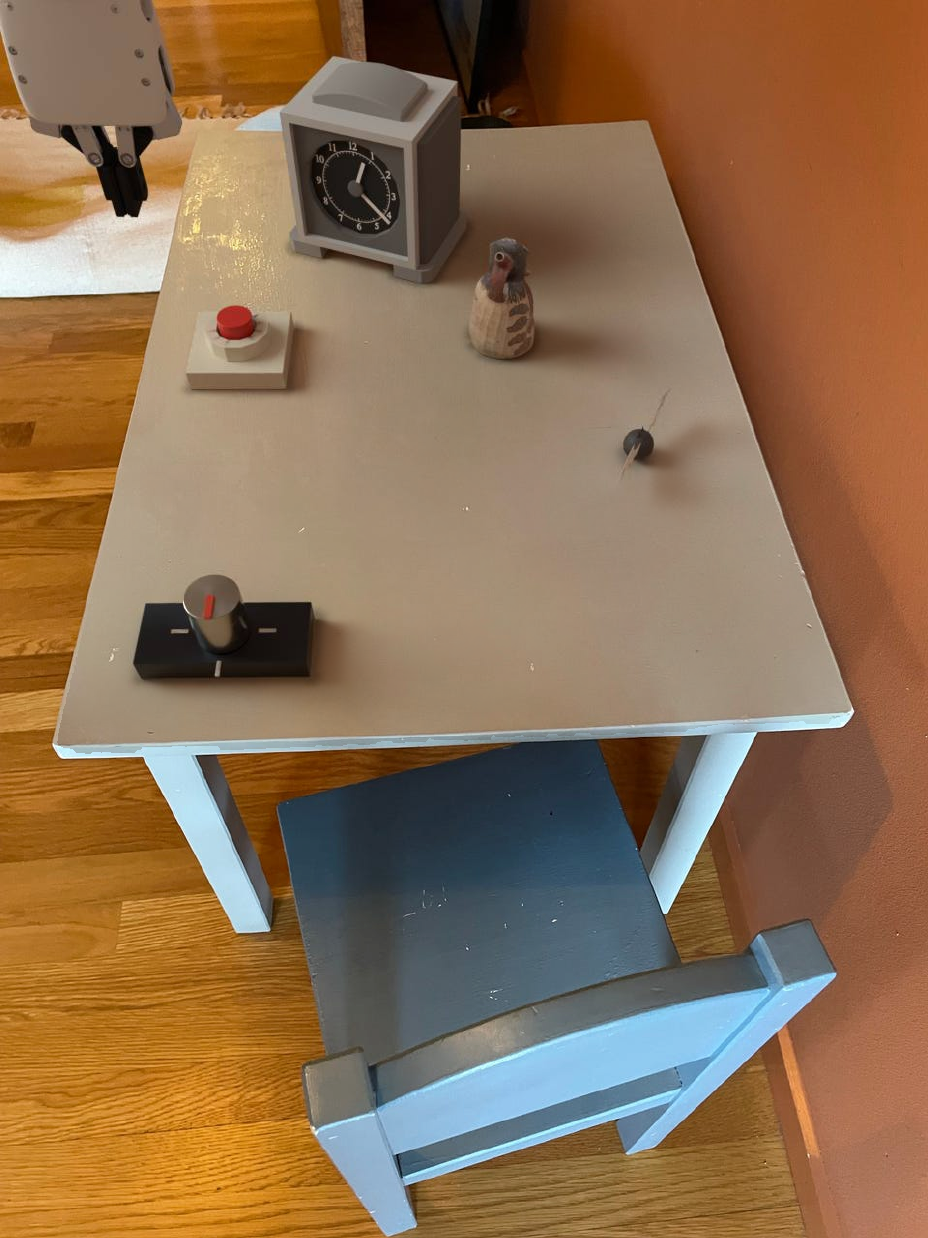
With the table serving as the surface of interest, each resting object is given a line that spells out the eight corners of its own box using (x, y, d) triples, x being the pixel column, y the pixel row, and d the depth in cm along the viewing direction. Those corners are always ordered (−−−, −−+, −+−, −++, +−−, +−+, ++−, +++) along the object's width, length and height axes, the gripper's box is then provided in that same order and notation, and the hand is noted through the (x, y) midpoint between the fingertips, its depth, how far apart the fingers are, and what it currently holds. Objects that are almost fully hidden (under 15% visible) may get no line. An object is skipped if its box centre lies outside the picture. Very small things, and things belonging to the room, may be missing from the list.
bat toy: (675, 413, 94) (686, 377, 90) (622, 510, 87) (630, 476, 83) (648, 403, 95) (657, 368, 91) (593, 499, 87) (600, 464, 83)
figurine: (544, 331, 101) (555, 232, 91) (516, 368, 97) (524, 270, 87) (487, 310, 103) (491, 212, 93) (457, 347, 99) (459, 248, 89)
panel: (138, 693, 75) (128, 676, 72) (155, 607, 79) (147, 589, 77) (308, 691, 75) (304, 674, 73) (316, 605, 80) (312, 587, 77)
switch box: (190, 389, 95) (180, 358, 91) (203, 327, 100) (195, 296, 97) (286, 389, 95) (280, 358, 92) (294, 327, 101) (288, 296, 97)
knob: (200, 609, 76) (185, 572, 72) (253, 609, 76) (241, 571, 72) (193, 654, 74) (177, 618, 69) (248, 653, 74) (235, 617, 69)
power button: (217, 341, 94) (214, 327, 92) (222, 318, 96) (218, 304, 94) (252, 341, 94) (249, 327, 92) (256, 318, 96) (253, 304, 94)
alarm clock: (287, 249, 108) (261, 90, 93) (333, 192, 115) (317, 34, 100) (429, 285, 105) (427, 125, 90) (469, 223, 112) (472, 66, 97)
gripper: (182, -89, 59) (231, 183, 74) (-53, -96, 58) (45, 180, 74) (164, -43, 55) (220, 236, 70) (-89, -50, 54) (22, 233, 69)
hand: (130, 207), depth 72 cm, fingers closed
